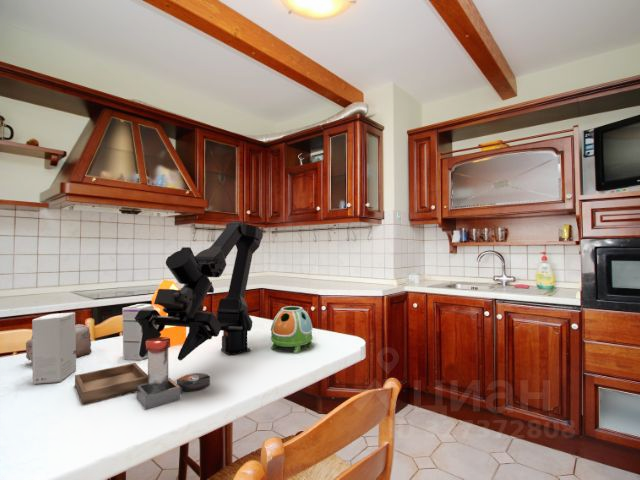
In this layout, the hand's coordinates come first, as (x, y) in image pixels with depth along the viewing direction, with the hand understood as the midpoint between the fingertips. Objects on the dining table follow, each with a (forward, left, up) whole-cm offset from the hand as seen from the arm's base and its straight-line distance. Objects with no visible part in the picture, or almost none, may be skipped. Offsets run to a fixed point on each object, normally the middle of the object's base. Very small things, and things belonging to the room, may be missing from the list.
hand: (159, 357), depth 72 cm
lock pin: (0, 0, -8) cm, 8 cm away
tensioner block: (-4, -1, -8) cm, 9 cm away
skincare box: (+15, -29, -8) cm, 34 cm away
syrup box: (-4, -32, -8) cm, 33 cm away
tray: (+6, -13, -8) cm, 16 cm away
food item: (+13, -45, -8) cm, 47 cm away
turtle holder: (-43, -12, -8) cm, 45 cm away
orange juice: (-15, -41, -8) cm, 44 cm away
